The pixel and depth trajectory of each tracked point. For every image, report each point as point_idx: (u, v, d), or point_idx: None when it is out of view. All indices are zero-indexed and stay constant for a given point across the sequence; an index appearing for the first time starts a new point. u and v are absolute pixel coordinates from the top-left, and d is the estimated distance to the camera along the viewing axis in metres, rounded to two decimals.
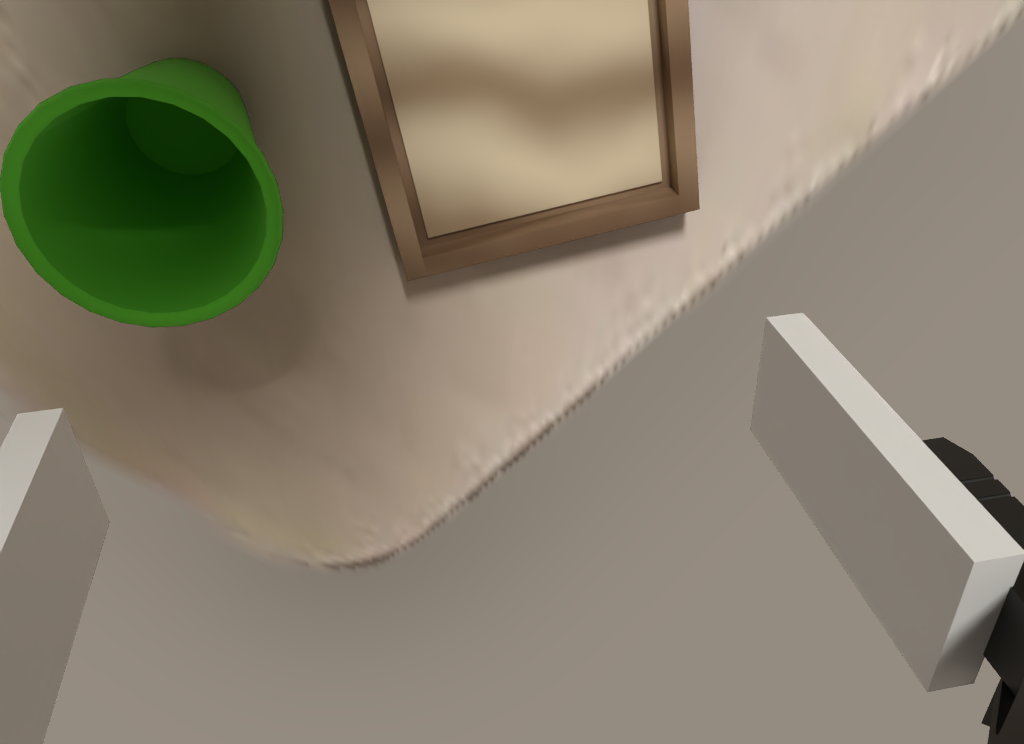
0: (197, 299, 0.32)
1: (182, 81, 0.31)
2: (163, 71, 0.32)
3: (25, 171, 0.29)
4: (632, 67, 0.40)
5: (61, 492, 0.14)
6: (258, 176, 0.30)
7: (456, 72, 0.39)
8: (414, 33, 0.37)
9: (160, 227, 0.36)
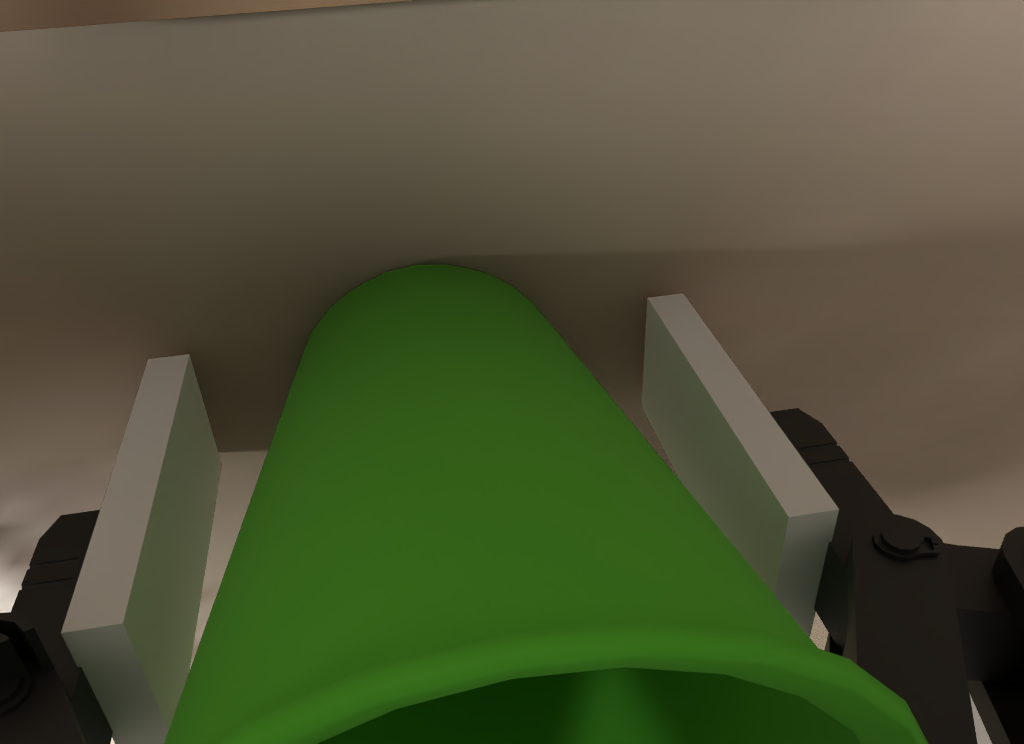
0: None
1: (224, 578, 0.11)
2: None
3: None
4: None
5: (192, 429, 0.16)
6: (473, 687, 0.07)
7: None
8: None
9: None
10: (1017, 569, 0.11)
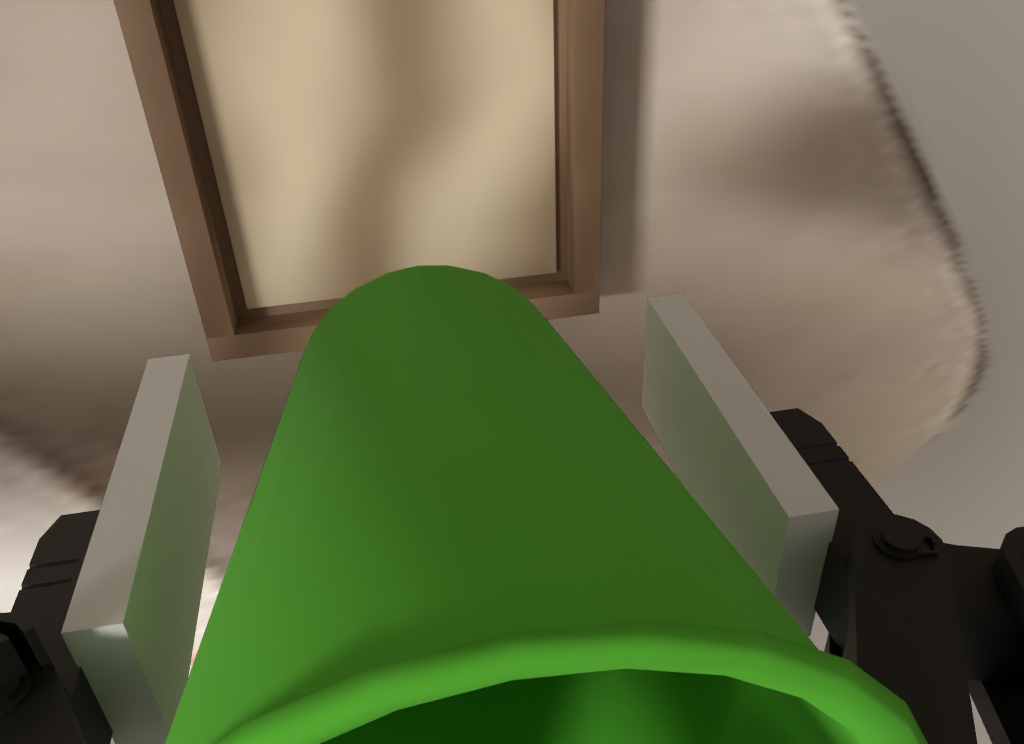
0: None
1: (224, 579, 0.11)
2: None
3: None
4: None
5: (192, 429, 0.16)
6: (473, 688, 0.07)
7: (356, 221, 0.32)
8: (307, 263, 0.32)
9: None
10: (1017, 569, 0.11)
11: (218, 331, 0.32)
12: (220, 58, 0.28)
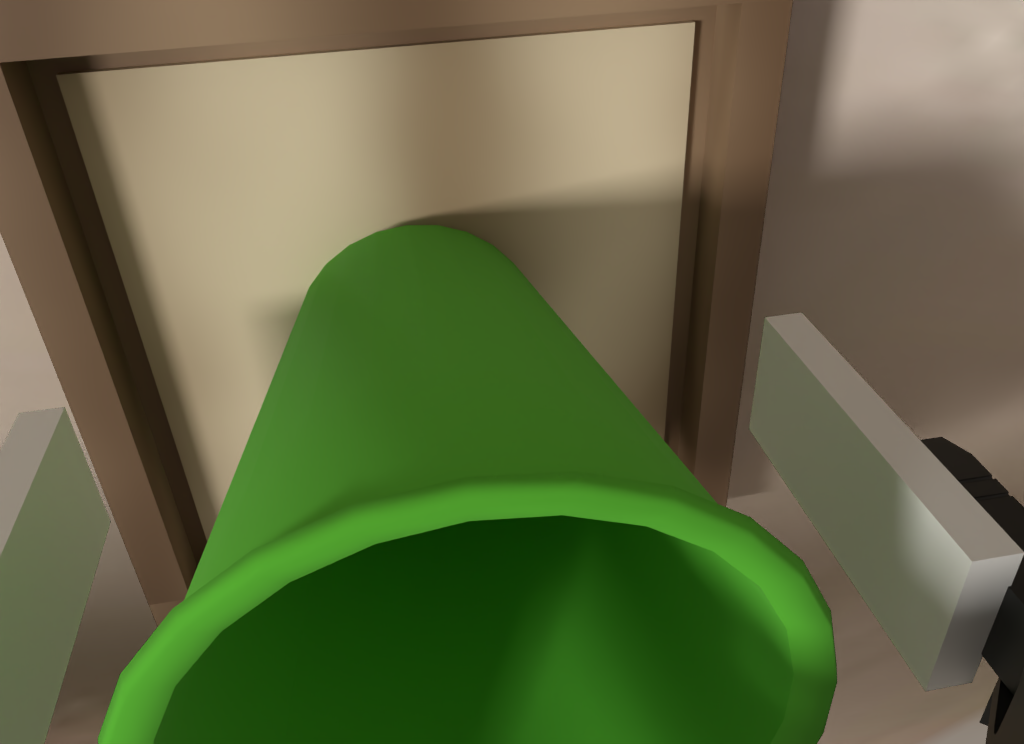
0: (767, 657, 0.12)
1: (232, 479, 0.12)
2: None
3: None
4: (403, 97, 0.17)
5: (62, 491, 0.14)
6: (437, 525, 0.09)
7: None
8: None
9: None
10: None
11: (166, 595, 0.21)
12: (157, 215, 0.17)
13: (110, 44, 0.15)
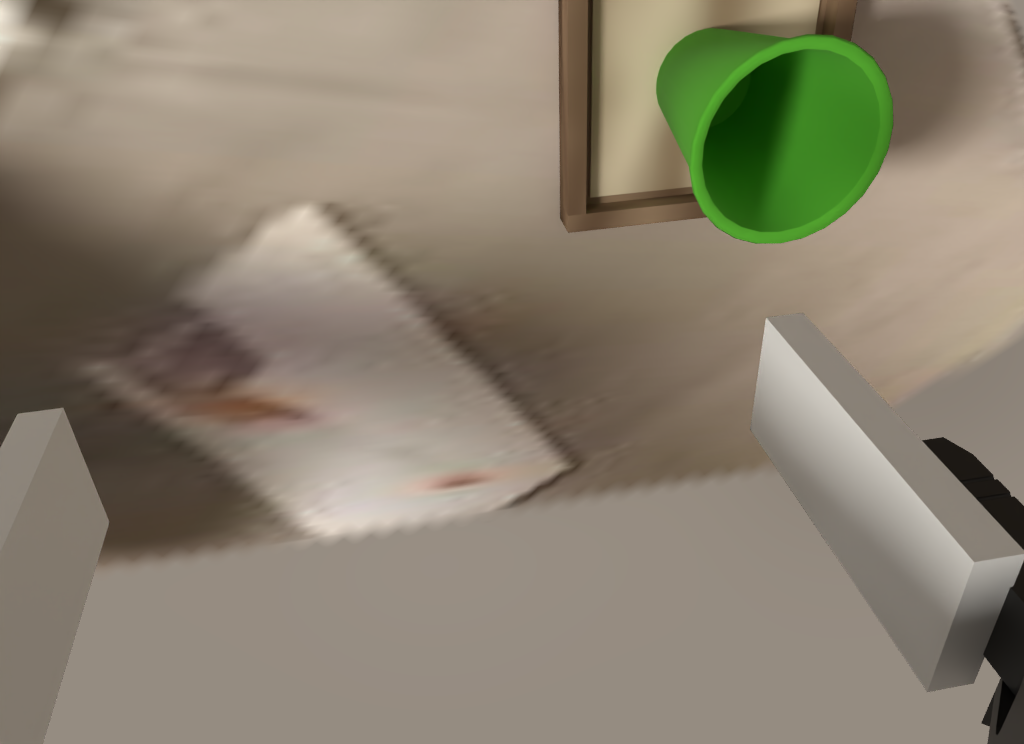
0: (870, 129, 0.38)
1: (695, 82, 0.38)
2: (679, 92, 0.40)
3: (731, 218, 0.39)
4: None
5: (61, 492, 0.14)
6: (798, 48, 0.34)
7: (672, 135, 0.47)
8: (635, 165, 0.48)
9: (789, 134, 0.43)
10: None
11: (576, 210, 0.47)
12: (610, 23, 0.43)
13: None
